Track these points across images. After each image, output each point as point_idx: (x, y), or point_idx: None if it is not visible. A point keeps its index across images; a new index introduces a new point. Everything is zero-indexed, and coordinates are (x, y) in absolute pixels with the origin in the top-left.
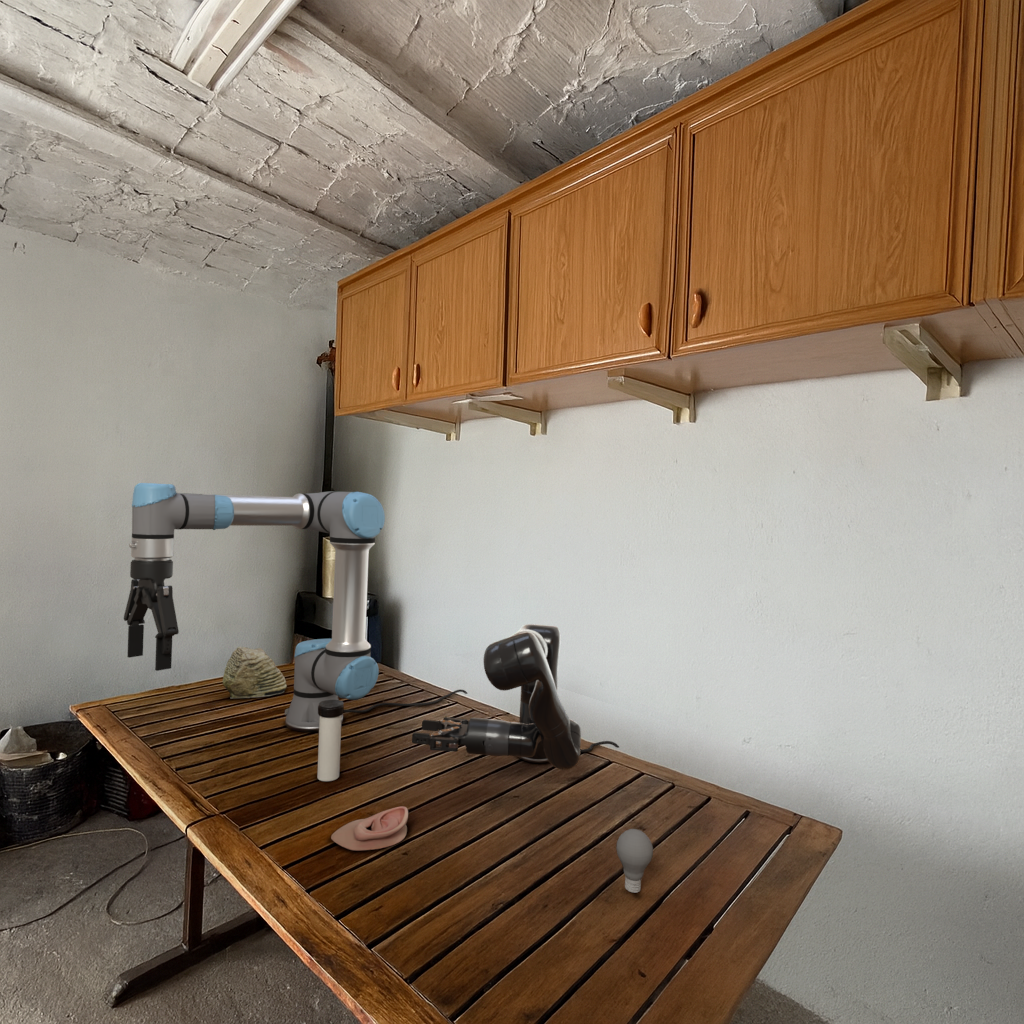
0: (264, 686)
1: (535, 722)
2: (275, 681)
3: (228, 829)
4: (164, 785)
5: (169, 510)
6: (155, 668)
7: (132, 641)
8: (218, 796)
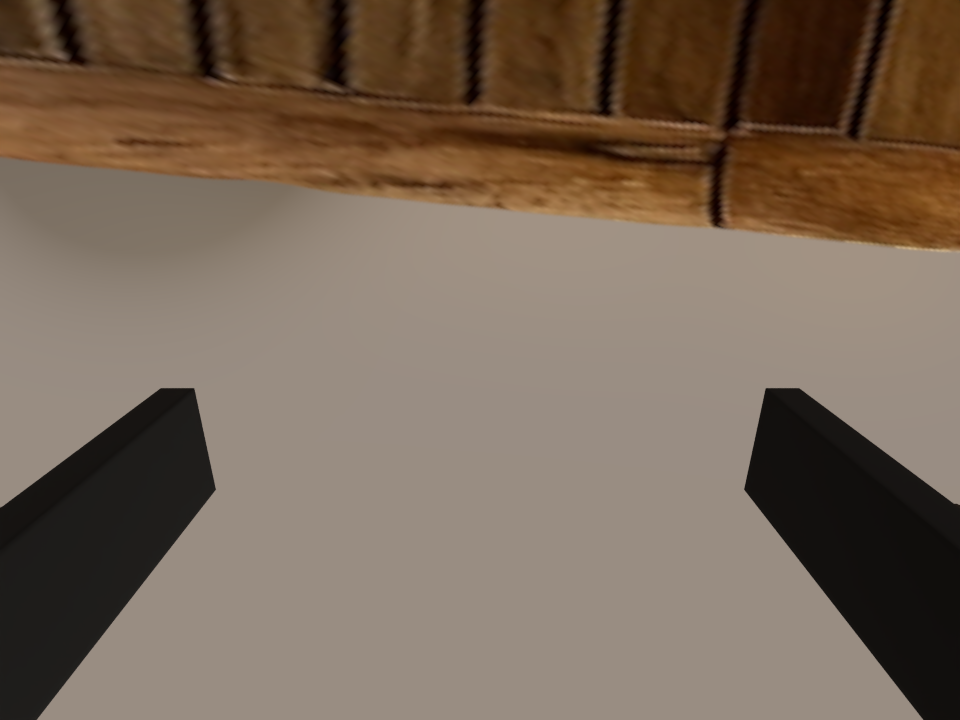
0: None
1: None
2: None
3: (824, 160)
4: (433, 166)
5: None
6: (755, 497)
7: (126, 569)
8: (628, 78)
